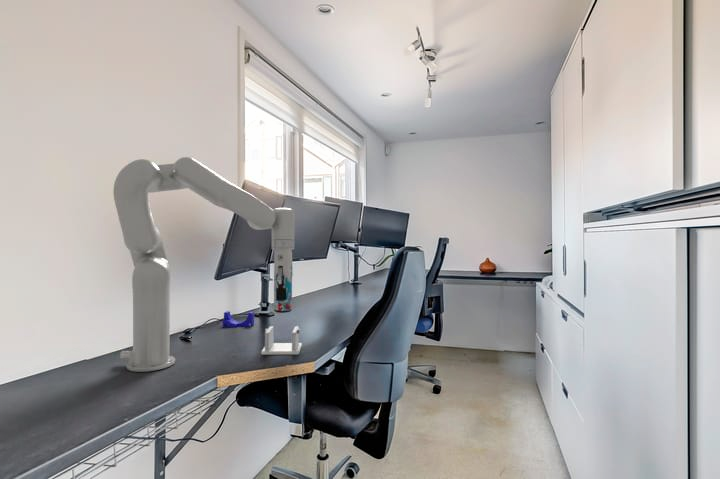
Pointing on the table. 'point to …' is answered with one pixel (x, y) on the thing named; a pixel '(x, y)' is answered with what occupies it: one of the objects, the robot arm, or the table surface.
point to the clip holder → (281, 347)
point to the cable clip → (231, 322)
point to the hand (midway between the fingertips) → (282, 298)
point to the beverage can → (286, 305)
